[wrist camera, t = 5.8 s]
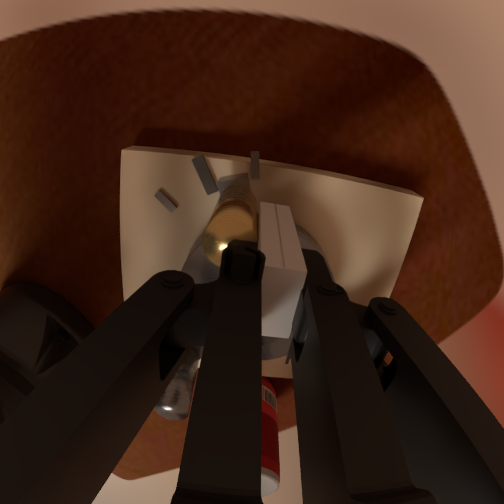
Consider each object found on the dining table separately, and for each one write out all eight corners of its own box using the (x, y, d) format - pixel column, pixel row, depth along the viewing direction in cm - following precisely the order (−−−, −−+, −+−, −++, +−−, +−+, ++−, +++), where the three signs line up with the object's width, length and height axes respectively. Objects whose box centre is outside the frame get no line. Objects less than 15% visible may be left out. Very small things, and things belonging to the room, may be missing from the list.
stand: (136, 340, 27) (124, 367, 24) (133, 134, 20) (111, 140, 16) (346, 366, 28) (354, 394, 25) (414, 179, 21) (438, 193, 17)
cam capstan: (365, 329, 23) (391, 397, 17) (174, 353, 25) (155, 422, 18) (362, 154, 18) (414, 183, 11) (117, 196, 19) (61, 241, 13)
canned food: (207, 355, 28) (190, 459, 18) (288, 375, 29) (297, 476, 19) (190, 400, 31) (174, 489, 21) (260, 416, 32) (260, 503, 22)
